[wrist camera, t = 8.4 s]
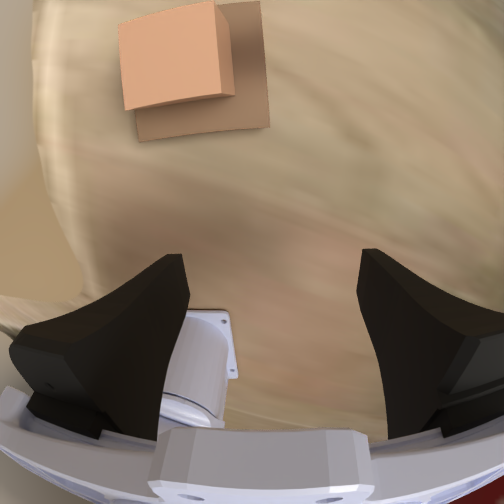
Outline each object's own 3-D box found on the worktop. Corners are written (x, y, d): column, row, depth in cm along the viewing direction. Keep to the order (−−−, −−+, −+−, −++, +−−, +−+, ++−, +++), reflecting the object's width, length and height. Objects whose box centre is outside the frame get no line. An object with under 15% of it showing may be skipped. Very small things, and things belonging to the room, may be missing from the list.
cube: (235, 95, 15) (221, 92, 11) (160, 106, 15) (125, 110, 11) (229, 24, 13) (213, 0, 9) (153, 38, 13) (118, 24, 9)
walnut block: (269, 123, 18) (269, 127, 16) (156, 136, 19) (139, 142, 16) (261, 14, 14) (259, 0, 12) (146, 33, 15) (127, 25, 12)
